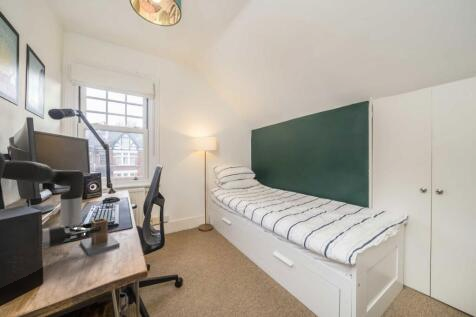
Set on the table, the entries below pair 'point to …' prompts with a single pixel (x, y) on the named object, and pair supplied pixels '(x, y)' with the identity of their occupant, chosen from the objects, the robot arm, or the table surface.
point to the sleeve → (101, 235)
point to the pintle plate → (99, 245)
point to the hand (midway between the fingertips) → (97, 226)
